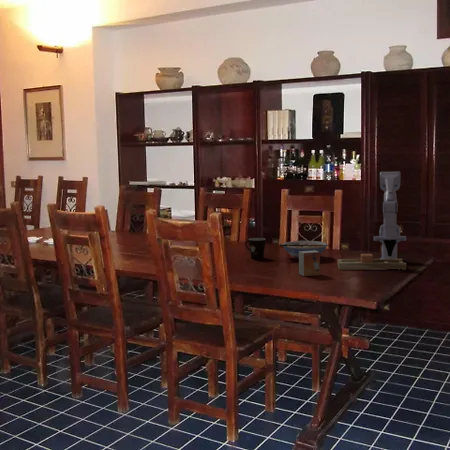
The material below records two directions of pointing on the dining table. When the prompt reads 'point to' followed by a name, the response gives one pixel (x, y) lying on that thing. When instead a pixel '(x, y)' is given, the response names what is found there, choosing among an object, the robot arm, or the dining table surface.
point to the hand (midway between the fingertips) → (389, 256)
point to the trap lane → (371, 264)
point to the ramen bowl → (303, 247)
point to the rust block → (366, 258)
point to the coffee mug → (256, 247)
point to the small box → (309, 263)
